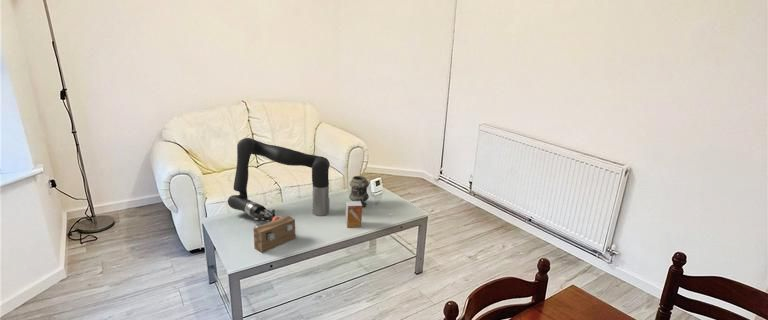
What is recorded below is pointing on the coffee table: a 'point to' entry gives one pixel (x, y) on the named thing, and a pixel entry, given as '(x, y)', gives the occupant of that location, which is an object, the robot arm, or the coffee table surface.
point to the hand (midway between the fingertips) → (275, 220)
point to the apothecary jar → (359, 189)
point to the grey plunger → (268, 234)
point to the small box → (353, 214)
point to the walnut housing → (276, 228)
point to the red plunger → (288, 227)
